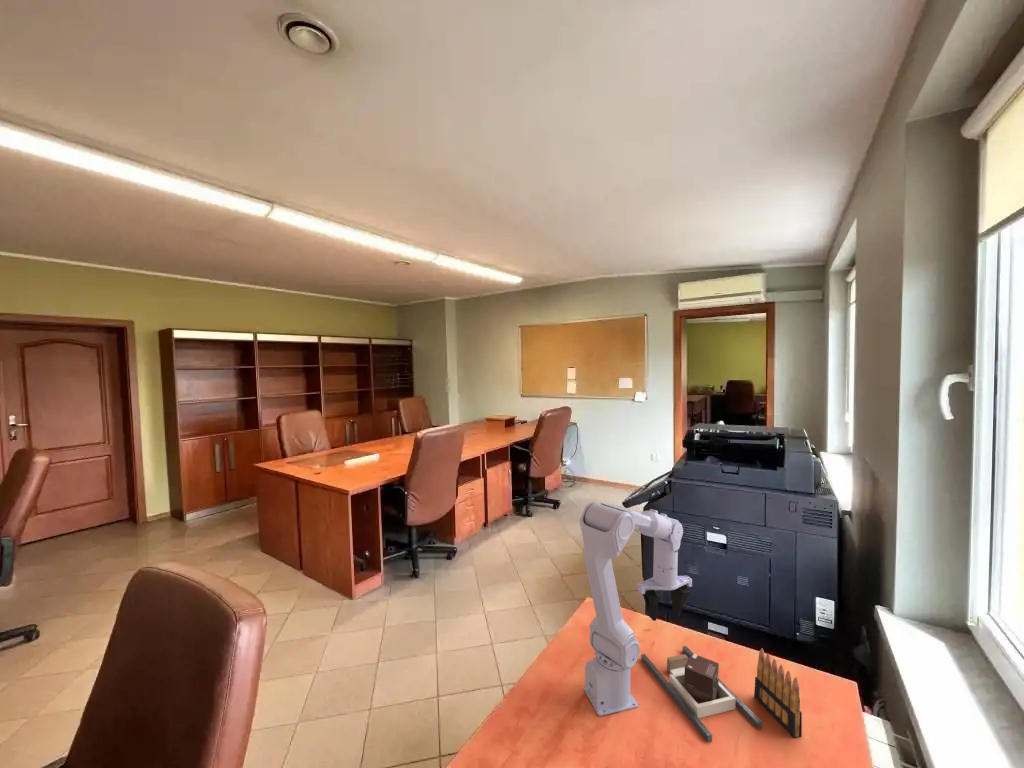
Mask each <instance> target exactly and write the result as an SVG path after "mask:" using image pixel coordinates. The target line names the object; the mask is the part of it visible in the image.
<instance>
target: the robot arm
mask: <svg viewBox="0 0 1024 768" xmlns="http://www.w3.org/2000/svg"><path fill="white" fill-rule="evenodd" d="M579 525H580V530H581V534H582V538H583V539H582V540H583V559H584V564H585V568H586V569H585V570H586V574H587V578H588V584H589V587H590V588H589V589H590V591H591V592H590V593H591V597H592V602H593V607H594V611H595V614H596V615H595V617H594V618H593V619H592V620H591V621H590V623H589V645H590V647H591V648H592V649H594V655H595V657H594V658H592V659H590V660H588V661H586V663H585V667H584V668H585V673H584V674H585V678H584V679H585V680H584V682H585V683H584V684H585V686H584V687H583V690H584V692H585V694H586V696H587V697H588V699H589V702H590V703H591V704H592V706H593V709H594V710H595V712H596V713H597V715H598V717H599V716H600V717H602V716H607V715H610V714H614V713H618V712H623V711H628V710H632V709H637V708H638V707H639V704H638V702H637V700H636V699H635V698H634V696H633V695H632V693H631V670H632V669H631V668H633V667H634V666H635V665H636V663H637V661H638V659H639V657H640V653H641V652H640V649H641V648H640V643H639V640H638V639H637V638H636V637H635V632H634V630H633V629H632V628H631V627H630V626H629V624H628V623H627V622H626V621H625V620H624V618H623V613H622V609H621V608H622V607H621V604H620V603H621V602H620V599H619V594H618V592H619V591H618V588H617V582H616V578H615V572H614V566H613V562H612V561H613V560H612V559H613V558H618V557H619V556H620V555H621V553H622V551H623V549H624V548H625V546H626V545H627V544H628V543H627V542H628V541H629V539H630V538H631V537H632V534H633V533H634V531H635V528H637V529H638V531H639V532H640V534H642V535H643V536H647V537H650V538H653V567H652V568H653V573H652V577H650V578H648V579H646V580H644V581H641V582H637V591H638V592H639V594H641V595H642V597H643V599H644V601H645V604H646V607H647V612H648V617H649V618H650V619H651V620H652V621H655V622H656V621H657V618H658V615H657V614H658V606H659V603H660V599H661V598H660V597H659V596H657V592H656V591H670V592H671V611H672V614H674V615H675V616H676V617H678V618H679V617H680V616H681V613H682V610H683V606H684V604H685V602H686V600H687V599H688V598H689V597H690V595H691V590H690V589H689V588H691V587H693V579H692V578H691V577H690V576H688V575H678V561H679V560H678V559H679V550H680V548H681V547H680V546H681V542H682V538H683V534H684V528H683V525H682V523H681V522H680V521H679V520H678V519H674V518H671V517H668V515H667V514H665V513H662V512H661V513H660V514H659V511H658V510H656V509H652V508H649V510H644V511H642V512H637V511H635V510H633V509H630V508H626V507H623V506H621V505H620V506H619V505H615V504H610V503H605V502H600V503H599V502H596V501H591V502H589V503H588V504H586V506H585V507H584V508H583V511H582V514H581V516H580V518H579Z"/></svg>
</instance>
